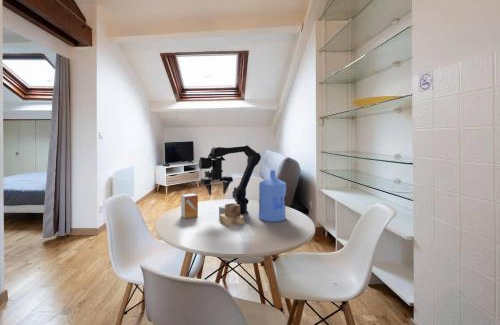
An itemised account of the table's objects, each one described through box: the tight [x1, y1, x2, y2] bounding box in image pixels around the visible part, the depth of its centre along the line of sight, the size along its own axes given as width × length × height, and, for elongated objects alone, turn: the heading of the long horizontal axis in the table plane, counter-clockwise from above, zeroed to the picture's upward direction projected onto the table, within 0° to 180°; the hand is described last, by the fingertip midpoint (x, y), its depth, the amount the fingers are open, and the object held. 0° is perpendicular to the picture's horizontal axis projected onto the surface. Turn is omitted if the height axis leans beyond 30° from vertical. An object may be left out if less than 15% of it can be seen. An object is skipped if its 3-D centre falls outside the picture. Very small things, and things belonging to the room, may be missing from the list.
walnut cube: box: [224, 202, 241, 218], centre depth 141 cm, size 6×6×6 cm
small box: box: [180, 193, 199, 219], centre depth 150 cm, size 8×6×13 cm
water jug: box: [258, 169, 287, 223], centre depth 147 cm, size 16×16×28 cm
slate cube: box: [218, 204, 225, 218], centre depth 151 cm, size 6×6×6 cm
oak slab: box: [219, 214, 245, 227], centre depth 141 cm, size 10×10×4 cm
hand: (217, 194), depth 151 cm, fingers open, 9 cm apart
